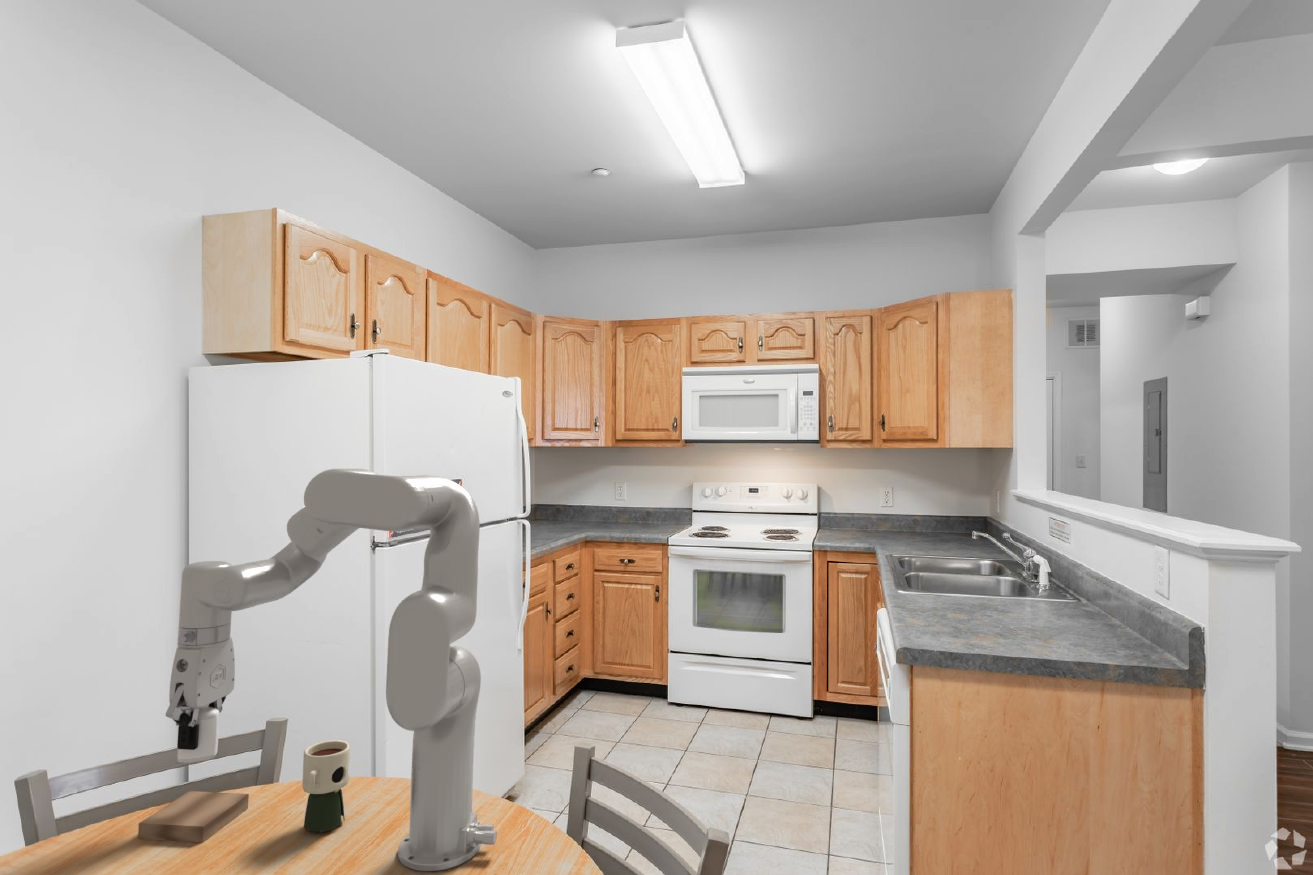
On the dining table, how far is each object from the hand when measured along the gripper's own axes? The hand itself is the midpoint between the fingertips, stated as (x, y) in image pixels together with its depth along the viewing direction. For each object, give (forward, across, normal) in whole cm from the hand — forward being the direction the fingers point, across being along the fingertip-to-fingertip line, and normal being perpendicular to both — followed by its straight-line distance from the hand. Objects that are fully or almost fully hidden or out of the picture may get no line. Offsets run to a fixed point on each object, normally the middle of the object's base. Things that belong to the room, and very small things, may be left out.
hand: (198, 741), depth 115 cm
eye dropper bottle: (+3, 0, 0) cm, 3 cm away
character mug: (+14, +1, -22) cm, 26 cm away
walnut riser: (+14, 0, 0) cm, 14 cm away
